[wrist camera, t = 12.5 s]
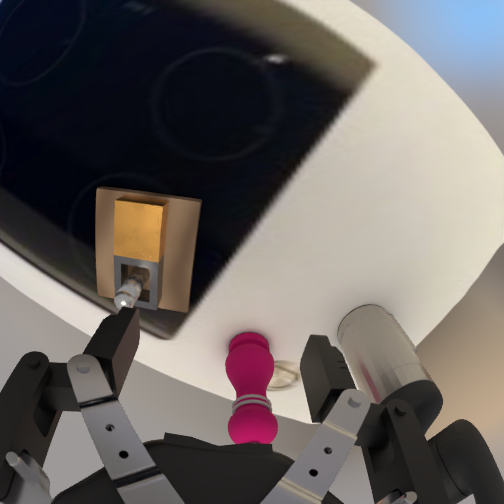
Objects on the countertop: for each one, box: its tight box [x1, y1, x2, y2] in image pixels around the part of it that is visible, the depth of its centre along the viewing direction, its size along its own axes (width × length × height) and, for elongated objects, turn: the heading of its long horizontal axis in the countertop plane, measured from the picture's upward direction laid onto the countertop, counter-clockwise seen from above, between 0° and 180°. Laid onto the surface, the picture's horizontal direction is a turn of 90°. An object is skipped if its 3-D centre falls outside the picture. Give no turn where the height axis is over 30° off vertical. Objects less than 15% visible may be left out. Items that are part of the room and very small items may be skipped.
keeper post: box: [114, 266, 150, 310], centre depth 35 cm, size 2×2×8 cm
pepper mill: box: [225, 332, 278, 444], centre depth 37 cm, size 7×7×20 cm
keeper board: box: [96, 186, 202, 313], centre depth 38 cm, size 14×16×2 cm
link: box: [114, 195, 169, 310], centre depth 36 cm, size 6×14×3 cm, turn 170°
